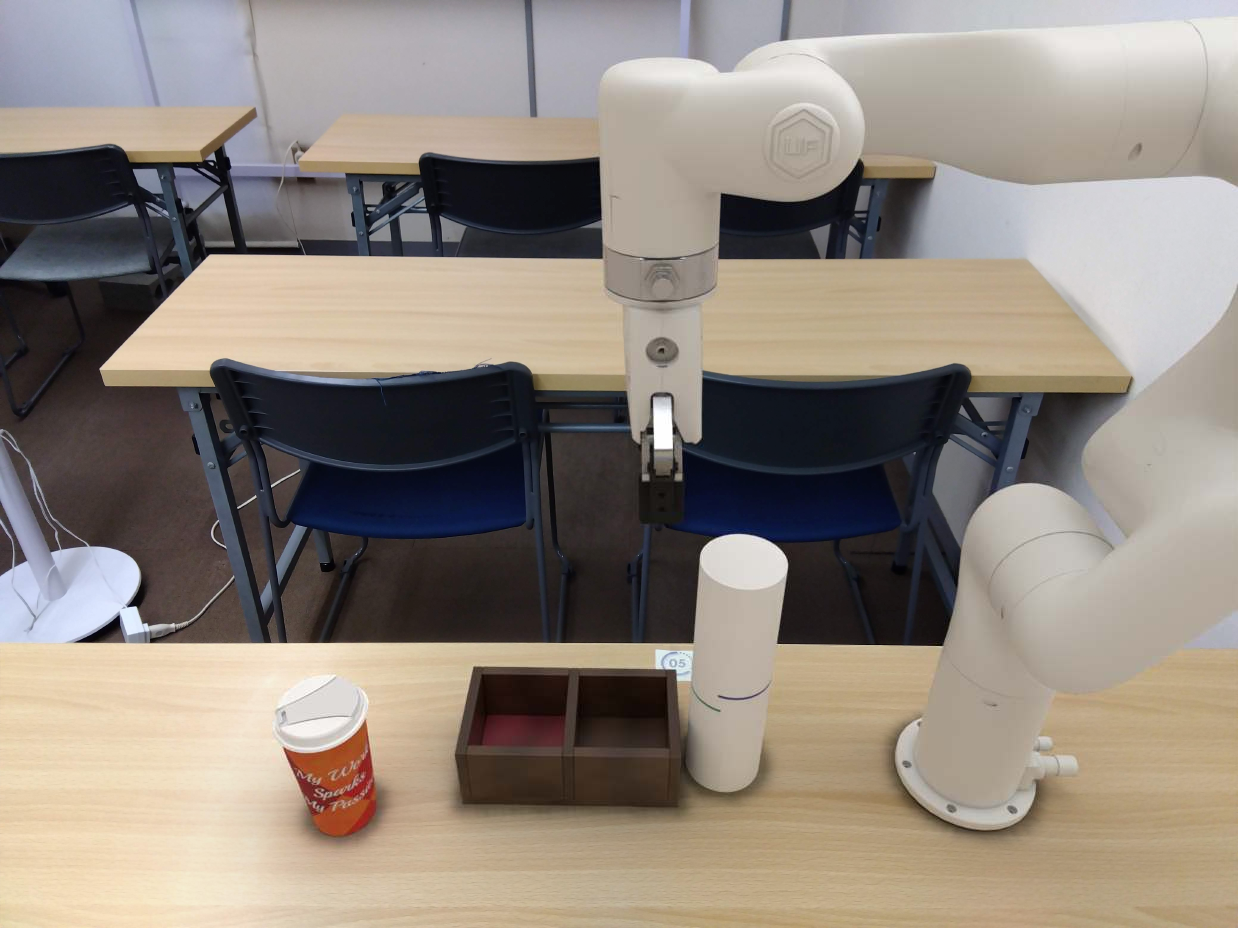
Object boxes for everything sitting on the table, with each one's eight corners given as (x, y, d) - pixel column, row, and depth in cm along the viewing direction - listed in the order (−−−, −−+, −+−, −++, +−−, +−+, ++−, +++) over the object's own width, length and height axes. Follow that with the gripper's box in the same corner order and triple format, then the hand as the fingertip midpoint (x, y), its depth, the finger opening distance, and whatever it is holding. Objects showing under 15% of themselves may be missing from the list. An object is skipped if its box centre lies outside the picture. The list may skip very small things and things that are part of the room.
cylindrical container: (756, 798, 80) (786, 595, 66) (680, 784, 81) (694, 582, 67) (761, 737, 86) (789, 539, 72) (690, 725, 87) (705, 529, 73)
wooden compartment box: (673, 717, 88) (676, 668, 84) (677, 807, 79) (681, 757, 75) (479, 714, 88) (473, 665, 84) (461, 803, 79) (454, 753, 75)
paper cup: (310, 861, 74) (277, 755, 67) (295, 793, 80) (262, 688, 72) (399, 824, 77) (377, 719, 70) (378, 761, 83) (355, 658, 75)
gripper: (730, 319, 49) (718, 554, 58) (707, 226, 63) (701, 426, 72) (598, 321, 49) (607, 555, 58) (606, 228, 63) (612, 427, 73)
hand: (659, 483), depth 65 cm, fingers open, 9 cm apart
